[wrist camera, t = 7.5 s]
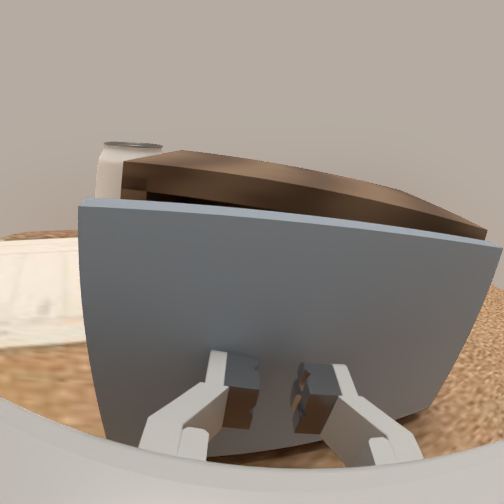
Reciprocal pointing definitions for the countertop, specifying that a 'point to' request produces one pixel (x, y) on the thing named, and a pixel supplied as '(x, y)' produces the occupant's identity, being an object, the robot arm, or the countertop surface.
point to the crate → (281, 191)
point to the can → (118, 165)
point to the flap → (268, 308)
